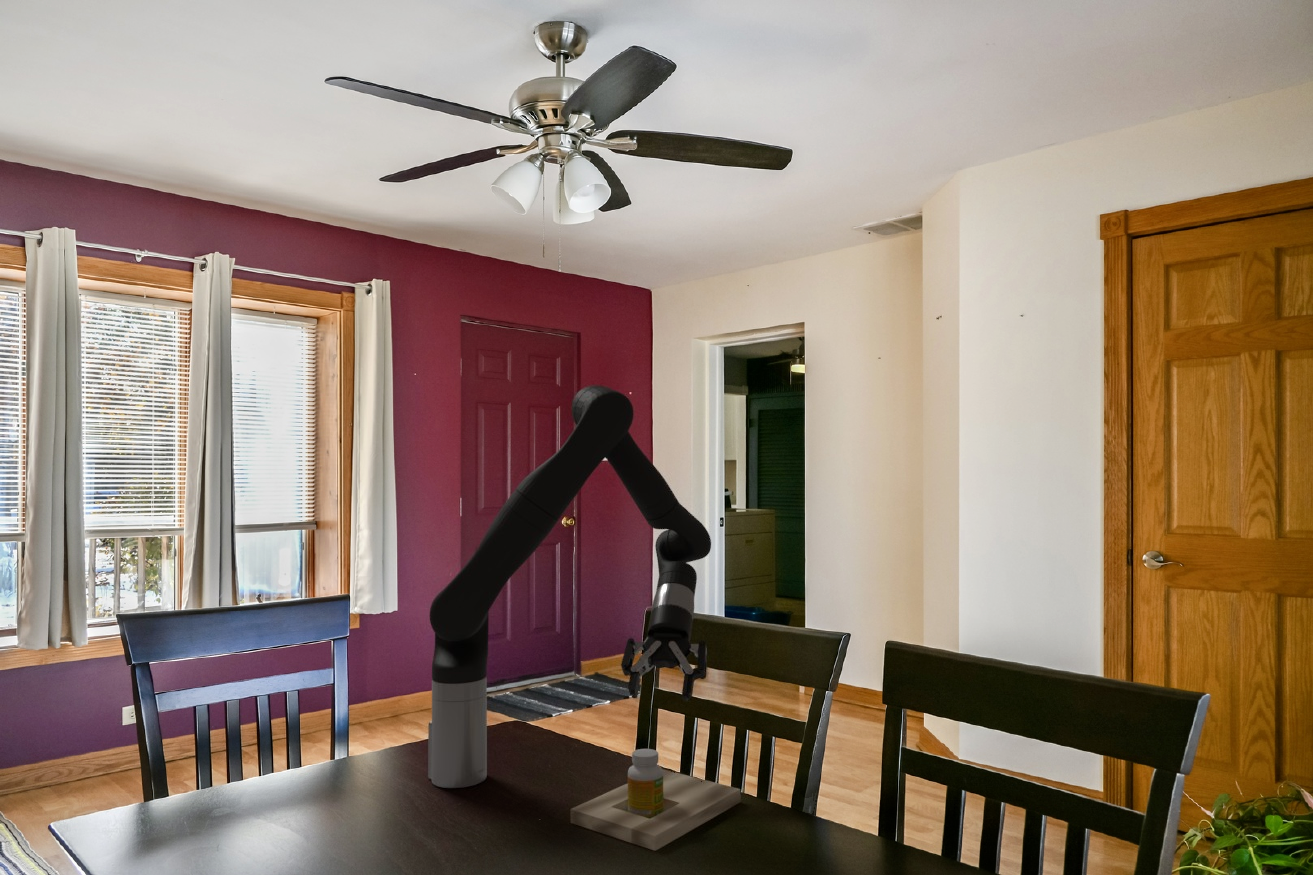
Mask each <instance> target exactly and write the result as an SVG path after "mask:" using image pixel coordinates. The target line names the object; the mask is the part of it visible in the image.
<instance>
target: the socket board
mask: <svg viewBox="0 0 1313 875" xmlns="http://www.w3.org/2000/svg"><path fill="white" fill-rule="evenodd" d="M662 769H663V805H664V812H662V813H660V814H658V815H656V816H654V817H652V818H651V819H649V818H646V817H642V816H639V815H636V814H632V813H629V812H628V782H627V783H625V784H623V785H621V786H619V787H616V788H614V789H612V790H609V791H608V792H606V793H603V794H602V795H599V796H596V797H595V798H594V797H593V798H592V799H590V800H588V801H586V802H583V803H581V804H578V805H576V806H574V807H572V808H571V809H570V824H573V825H576V826H579V827H582V828H585V829H588V830H590V831H594V832H596V833H600V834H603V835H606V836H608V837H613V838H615V839H618V840H620V841H625V842H627V843H630V844H632V845H637V846H639V847H642V848H646V849H649V850H651V851H658V850H660V849H661V848H663V847H665V846H666V845H668V844H670V843H671V842H674V841H675V840H676V839H679V838H680V837H682V836H684V835H686V834H688V833H689V832H691V831H693V830H694V829H696V828H698V827H699V826H701V825H703V824H705V823H707V822H708V821H711V819H714V818H715V817H717V816H718V815H721V814H722V813H725V812H726V811H727V810H729V809H731V808H733V807H734V806H736V805H738V804H740V803H741V798H742V797H741V789H740V788H738V787H734V786H730V785H726V784H722V783H717V782H716V781H715V782H713V781H711V780H707V779H703V778H699V777H695V776H690V775H686V774H683V773H680V772H675V771H672V772H671V770H668V769H664V768H662ZM674 772H675V773H674ZM701 781H702V782H701Z"/></svg>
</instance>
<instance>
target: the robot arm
mask: <svg viewBox="0 0 1313 875" xmlns="http://www.w3.org/2000/svg"><path fill="white" fill-rule="evenodd" d="M570 411H571V416H572V419H573V420H572V421H573V422H574V424H575V425H576V426H575V427H574V429H573V430H572V432H571V434H570V435H569V436H568V438H567V439H566V441H565V442H564V443H563V445H562V446H560V448H559V449H558V450H557V451H556V452H555V453H554V454H553V455H552V456H551V457H550V458H548V459H546V460H545V461H544V462H543V463H542V464H540V465H539V466H538V467H536V468H535V469H534V470H533V471H531V472H530V473H529V474H528V475H527V476H526V477H524V478H523V480H522V481H521V482H520V483H519V484H518V485H517V486H516V487H515V489H514V490H513V491H512V493H511V495H510V496H509V497H508V499H507V500H506V502H505V503H504V504H503V505H502V507H501V509H500V510H499V511H498V513H497V515H496V516H495V518H494V520H493V521H492V523H491V524H490V526H489V528H488V529H487V531H486V533H485V534H484V536H483V538H482V539H481V541H480V543H479V544H478V546H477V548H476V549H475V551H474V553H473V554H472V556H471V557H470V559H469V560H468V561H467V563H466V564H465V565H464V566H463V567H462V568H461V570H459V572H458V573H457V574H456V575H455V577H454V578H452V580H451V581H450V582H449V583H448V584H447V585H446V586H445V587H444V588H443V589H442V590H440V592H439V593H438V594H437V595H436V596H435V597H434V599H433V600H432V602H431V604H430V607H429V608H430V609H429V622H430V623H429V624H430V626H431V629H432V631H433V633H434V649H433V650H434V651H433V657H432V658H433V659H432V664H431V721H429V722H428V727H427V728H428V737H427V738H428V741H427V744H428V750H427V752H428V755H427V757H428V758H427V760H428V761H427V762H428V765H427V767H428V768H427V770H428V771H427V773H428V774H427V776H428V777H427V779H430V780H431V783H432V784H433V785H434V786H436V787H439V788H445V789H458V788H459V789H461V788H467V787H471V786H476V785H477V784H480V783H482V782H485V780H486V779H487V776H488V775H487V772H488V771H487V770H488V769H487V768H488V766H487V765H488V764H487V762H488V761H487V760H488V758H487V756H488V751H487V750H488V749H487V748H488V746H487V745H488V744H487V743H488V740H487V738H488V736H487V735H488V734H487V733H488V732H487V731H488V727H487V725H488V723H487V721H488V720H487V719H488V716H487V715H488V710H487V709H488V706H487V705H488V702H487V700H488V699H487V698H488V694H487V691H488V689H487V687H488V686H487V685H488V684H487V683H488V681H487V680H488V679H487V677H488V672H487V671H488V660H489V620H490V618H489V612H490V609H491V607H492V606H493V604H494V603H495V601H496V599H497V598H498V596H499V595H500V593H501V591H502V589H503V588H504V587H505V586H506V584H507V582H509V580H510V579H511V577H512V576H514V574H515V573H516V572H517V571H518V570H519V569H520V568H521V566H522V565H524V563H526V561H527V560H528V559H529V558H530V557H531V556H532V555H533V553H535V552H536V550H537V548H539V546H540V545H541V544H542V543H543V541H544V540H545V539H546V538H547V537H548V536H549V534H550V533H551V531H552V530H553V529H554V527H555V526H556V524H557V523H558V522H559V520H560V519H561V517H562V516H563V514H564V513H565V512H566V510H567V508H568V507H569V506H570V504H571V503H572V501H573V500H574V499H575V497H577V495H578V494H579V492H580V491H581V489H582V488H583V486H584V485H585V484H586V482H587V480H588V479H589V477H590V476H591V475H592V473H594V471H595V470H596V468H597V467H598V466H599V465H600V464H601V463H602V462H603V461H604V459H606V460H607V462H608V463H609V464H610V466H611V467H612V469H613V470H614V472H615V474H616V475H617V476H618V478H619V480H620V481H621V483H622V484H623V486H624V487H625V489H626V491H627V493H628V494H629V495H630V497H631V499H632V500H633V502H634V504H635V505H636V507H637V509H638V510H639V512H640V513H641V515H642V516H643V518H644V520H645V521H646V522H647V524H648V525H649V526H650V527H651V528H652V529H654V530H664V531H662V532H661V533H660V534H659V535H658V537H657V538H656V541H655V554H656V558H657V566H658V567H657V568H658V580H657V586H656V590H655V595H654V597H653V600H652V605H651V611H650V612H651V613H650V617H649V621H648V626H647V627H648V628H647V632H646V638H645V639H644V640H643V641H642V642H641V641H635V639H634V638H632V637H630V638H628V639H627V641H626V646H625V647H624V648H625V649H624V653H623V656H622V659H621V663H620V666H621V669H622V673H623V676H625V677H628V676H629V680H628V686H627V689H628V692H629V695H630V696H631V698H632V699H638V695H639V689H640V684H641V677H642V676H643V675H645V674H646V673H649V672H650V671H651V670H652V669H653V668H654V667H655V668H656V669H663V668H666V669H673V670H674V669H675V668H677V667H678V669H679V671H681V674H683V675H684V676H683V682H682V683H683V684H682V690H681V697H682V701H683V702H689V701H688V700H689V699H692V697H693V693H694V686H695V685H694V684H695V681H696V680H704V679H706V677H707V665H708V650H707V649H708V648H707V644H706V641H705V640H700V641H699V642H698V643H691V637H692V636H691V635H692V628H693V621H694V618H695V594H696V587H697V582H698V580H697V579H698V577H697V576H698V575H697V571H696V569H695V568H694V567H693V566H692V565H691V564H689V563H690V562H695V561H698V560H702V559H704V558H706V557H707V556H708V555H709V554H710V551H711V549H712V539H711V536H710V534H709V531H708V529H707V528H706V527H705V525H704V524H703V523H702V522H701V521H700V520H699V519H698V518H696V517H695V516H694V515H693V514H692V513H691V512H690V511H689V510H688V509H687V508H686V507H684V506H683V505H682V504H681V503H680V502H679V500H678V499H677V497H676V496H675V494H674V492H673V490H672V488H671V487H670V485H669V484H668V482H667V481H666V480H665V478H664V476H663V475H662V474H661V472H660V471H659V470H658V469H657V467H656V466H655V465H654V464H653V463H652V461H650V459H649V458H648V457H647V456H646V454H645V453H644V452H643V450H641V448H640V447H639V446H638V444H637V443H636V442H635V440H634V438H633V437H632V435H631V433H630V432H629V430H630V428H631V426H632V424H633V420H634V406H633V403H632V401H631V400H630V399H629V398H628V397H627V395H625V394H624V393H621V392H619V391H618V390H614V389H613V388H609V387H607V386H604V385H597V384H593V385H587V386H585V387H583V388H581V389H580V390H579V391H578V392H577V393H576V394H575V396H574V398H573V400H572V403H571V410H570ZM641 651H643V654H641V655H640V656H639V659H637V661H636V662H635V663H634V660H635V656H638V655H639V653H640V652H641ZM692 652H693V653H694V656H695V657H696V658H697V667H694V668H693V667H692V666H691V664H690V663H689V661H688V659H687V657H689V656H690V655H691V654H692Z"/></svg>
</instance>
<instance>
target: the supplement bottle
mask: <svg viewBox="0 0 1313 875" xmlns="http://www.w3.org/2000/svg"><path fill="white" fill-rule="evenodd" d="M631 753H632V754H631V761H632V762H631V763H632V765H631V766H629V768H628V771H627V783H628V812H629V813H632V814H636V815H639V816H642V817H646V818H649V819H651V818H652V817H654V816H656V815H658V814H660V813H662V812H664V805H663V769H664V768H663V767H661V765H659V764H658V763H659V752H658V751H657V750H655V749H652V748H640V749H639V748H637V749H635V750H633V751H632V752H631Z"/></svg>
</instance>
